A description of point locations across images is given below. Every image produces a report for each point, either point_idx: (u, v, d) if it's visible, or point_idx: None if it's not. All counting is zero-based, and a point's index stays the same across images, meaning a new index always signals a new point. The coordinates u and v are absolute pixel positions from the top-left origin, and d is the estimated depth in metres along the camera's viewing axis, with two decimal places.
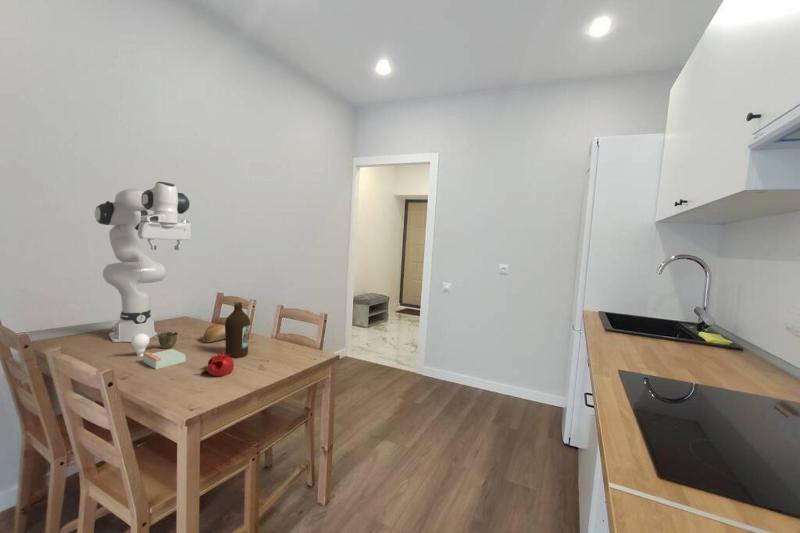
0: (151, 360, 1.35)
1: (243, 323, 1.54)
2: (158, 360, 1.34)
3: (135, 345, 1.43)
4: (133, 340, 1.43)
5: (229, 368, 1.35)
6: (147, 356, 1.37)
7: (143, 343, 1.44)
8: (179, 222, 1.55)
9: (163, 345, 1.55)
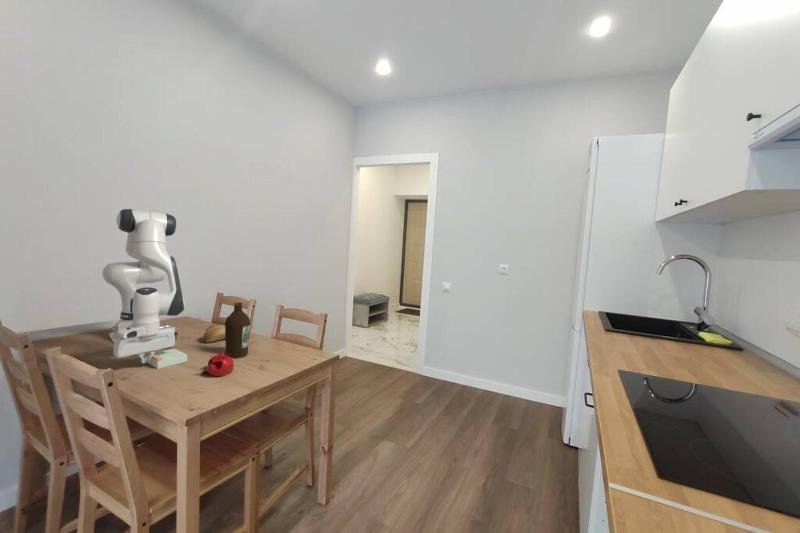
0: (153, 360, 1.36)
1: (243, 323, 1.54)
2: (160, 360, 1.35)
3: None
4: None
5: (229, 368, 1.35)
6: None
7: None
8: (162, 329, 1.39)
9: None
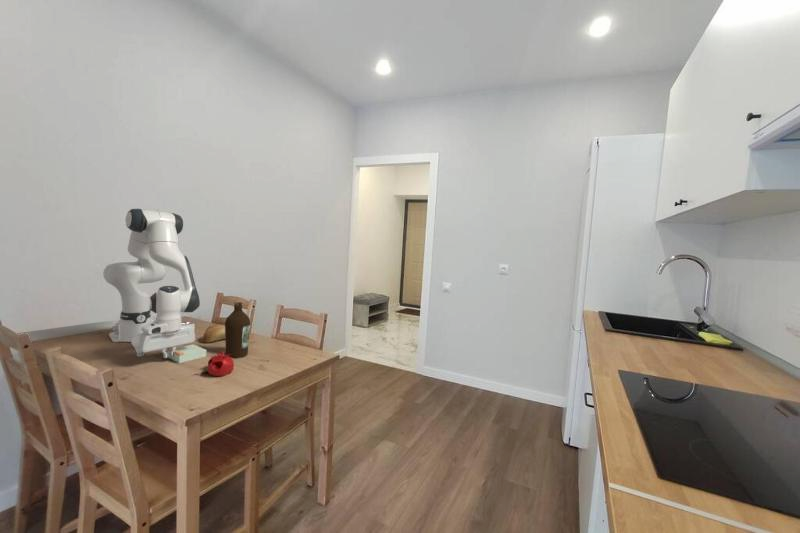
0: (175, 355, 1.43)
1: (243, 323, 1.54)
2: (181, 354, 1.41)
3: (135, 345, 1.43)
4: (133, 340, 1.43)
5: (229, 368, 1.35)
6: None
7: None
8: (183, 325, 1.45)
9: None
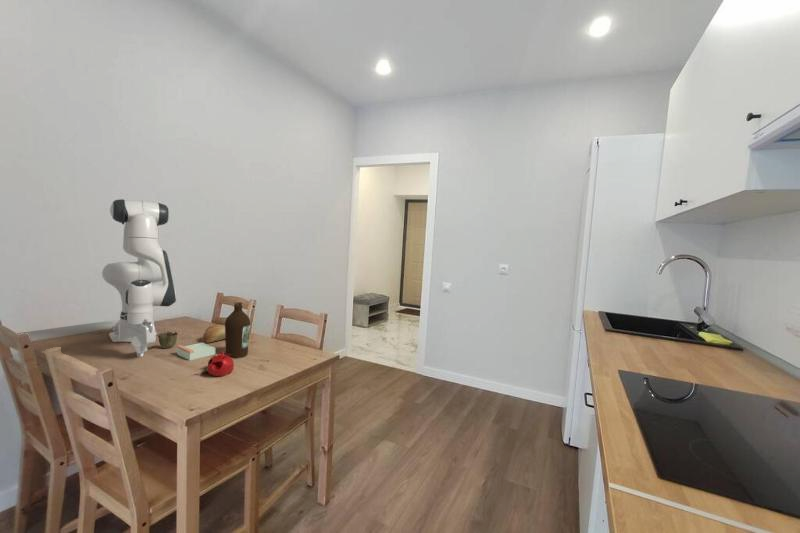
0: (185, 352, 1.46)
1: (243, 323, 1.54)
2: (192, 352, 1.45)
3: (135, 345, 1.43)
4: (133, 340, 1.43)
5: (229, 368, 1.35)
6: (181, 348, 1.48)
7: None
8: (145, 323, 1.42)
9: (163, 345, 1.55)
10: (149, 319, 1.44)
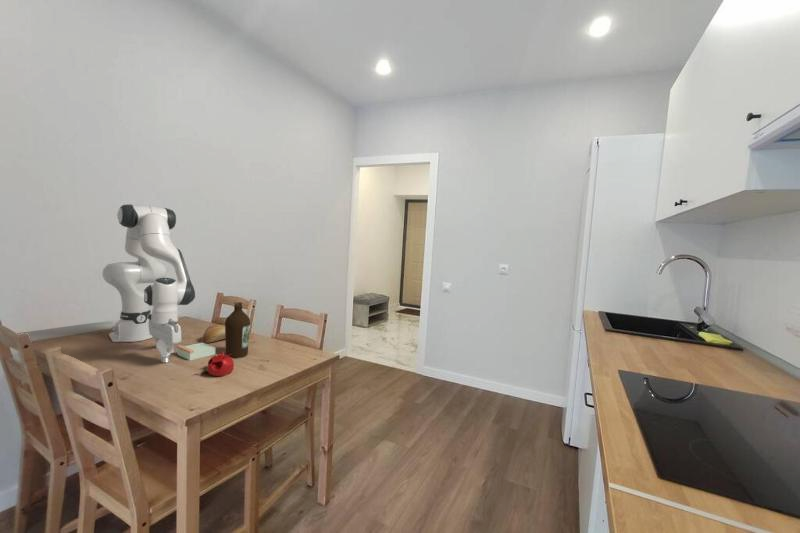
0: (185, 352, 1.46)
1: (243, 323, 1.54)
2: (192, 352, 1.45)
3: (160, 349, 1.38)
4: (158, 344, 1.37)
5: (229, 368, 1.35)
6: (181, 348, 1.48)
7: None
8: (170, 322, 1.37)
9: None
10: (174, 319, 1.39)
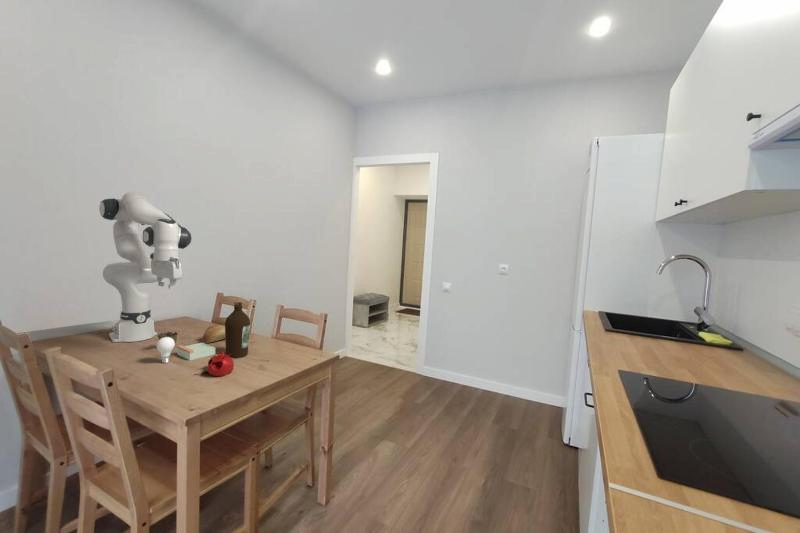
0: (185, 352, 1.46)
1: (243, 323, 1.54)
2: (192, 352, 1.45)
3: (161, 349, 1.37)
4: (158, 344, 1.37)
5: (229, 368, 1.35)
6: (181, 348, 1.48)
7: (169, 347, 1.39)
8: (171, 260, 1.45)
9: None
10: (175, 257, 1.47)
